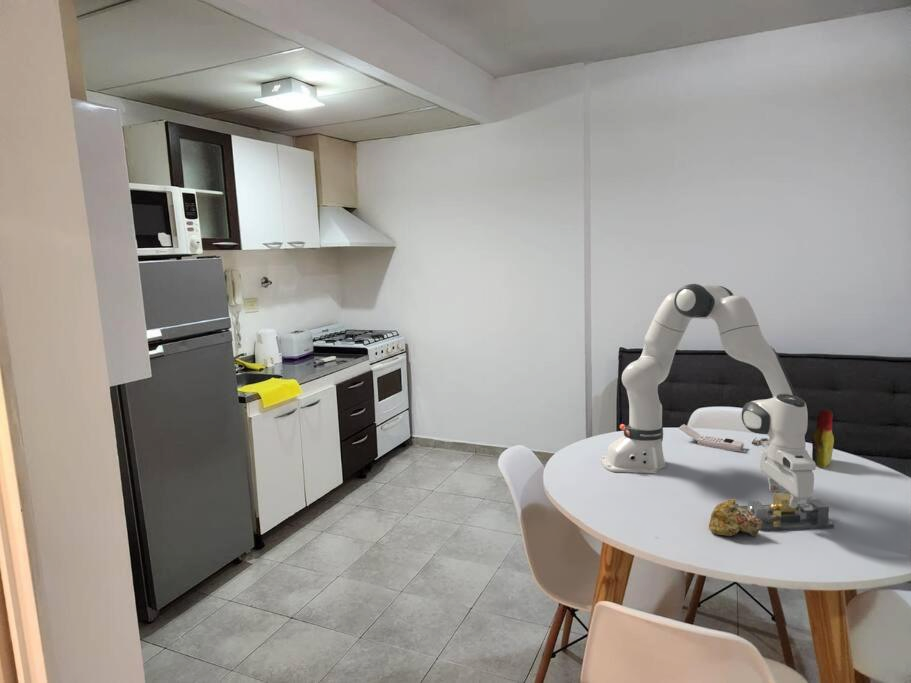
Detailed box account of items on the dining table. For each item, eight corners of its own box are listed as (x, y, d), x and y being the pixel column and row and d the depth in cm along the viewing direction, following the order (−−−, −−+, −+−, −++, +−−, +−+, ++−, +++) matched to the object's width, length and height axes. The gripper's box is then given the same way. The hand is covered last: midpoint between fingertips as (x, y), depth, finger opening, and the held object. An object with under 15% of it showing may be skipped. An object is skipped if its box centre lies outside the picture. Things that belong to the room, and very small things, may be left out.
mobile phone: (682, 423, 230) (750, 434, 214) (682, 437, 231) (749, 449, 215) (677, 427, 225) (746, 439, 209) (677, 442, 226) (745, 454, 210)
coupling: (774, 518, 159) (776, 500, 158) (767, 512, 163) (768, 494, 162) (800, 517, 159) (801, 499, 158) (792, 511, 163) (793, 493, 162)
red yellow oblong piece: (830, 471, 192) (834, 414, 189) (808, 467, 196) (812, 411, 193) (833, 460, 201) (837, 406, 198) (812, 456, 205) (816, 403, 202)
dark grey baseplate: (759, 530, 155) (760, 513, 154) (736, 509, 168) (737, 493, 167) (835, 528, 155) (836, 510, 154) (805, 506, 168) (806, 490, 167)
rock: (746, 549, 155) (767, 523, 151) (732, 555, 149) (754, 528, 145) (710, 518, 162) (730, 492, 159) (696, 522, 157) (716, 495, 153)
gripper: (755, 440, 168) (752, 484, 171) (796, 467, 148) (792, 516, 151) (776, 439, 168) (773, 483, 171) (820, 466, 148) (815, 515, 151)
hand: (782, 499), depth 161 cm, fingers open, 8 cm apart
